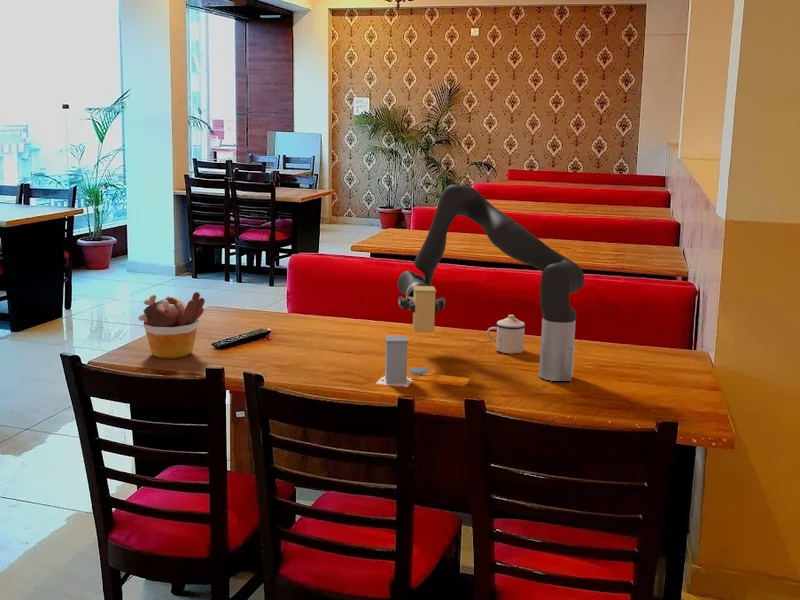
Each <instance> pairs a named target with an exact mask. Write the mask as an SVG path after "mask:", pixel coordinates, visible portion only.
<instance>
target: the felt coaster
mask: <svg viewBox="0 0 800 600" xmlns="http://www.w3.org/2000/svg"><path fill="white" fill-rule="evenodd" d="M430 368H431V367H430ZM430 368H429V367H424V366H423V367H422V366H421V367H418V366H417V367H412V368H410V369H409V370H408V374H410V373H411V374H410V375H412V374H413V375H412V376H417V375H419V376H420V377H424V376H423V374H425V372H426V373H428V372H427V371H429V370H431V369H432V368H431V369H430ZM428 369H429V370H428ZM430 372H431V371H430ZM419 376H418V377H419Z"/></svg>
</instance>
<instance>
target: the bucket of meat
mask: <svg viewBox="0 0 800 600" xmlns="http://www.w3.org/2000/svg"><path fill="white" fill-rule="evenodd" d="M192 294H193V295H192V298H191V300H189V301H188V302H187V304H186V303H185V302H184V301H182V300H181V299H180V298H177V297H173V296H166V297H165V298H164V299H160V300H158V301H156V299H157V295H156V294H152V295H150V296H149V298H147V299H145V300H144V301H143V304H144V305H146V308H144V309H143V313H140V315H139V316H138V317H137V319H138V321H140V322H143V328H144V330H145V334H146V338H147V340H148V341H147V342H148V345H149V347H150V348H149V349H150V351H151V354H152V355H153V357H156V358H159V359H161V360H162V359H163V360H164V359H166V360H168V359H169V360H170V359H172V360H173V359H174V358H175V359H180V357H181V358H185V357H187V356H188V354H189V355H190V354H191V353H192V352H193V350H194V345H195V342H196V335H197V330H198V325H199V318H200V317H201V316H202V315H203V313H204V311H205V309H204V307H203V306H204V305H205V302H206V301H205V300H206V299H205V298H204V297H201V295H200V292H197V291H195V292H193V293H192ZM175 359H174V360H175Z"/></svg>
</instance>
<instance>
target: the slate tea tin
mask: <svg viewBox="0 0 800 600" xmlns="http://www.w3.org/2000/svg"><path fill="white" fill-rule="evenodd" d="M384 336H385V337H384V339H385V361H384V362H385V365H384V366H385V367H384V369H385V371H384V372H385V373H384V375H385V379H386V384H406V380H407V377H408V376H407V375H408V374H407V372H408V370H407V369H408V344H409V339H408V337H407V335H384Z"/></svg>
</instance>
